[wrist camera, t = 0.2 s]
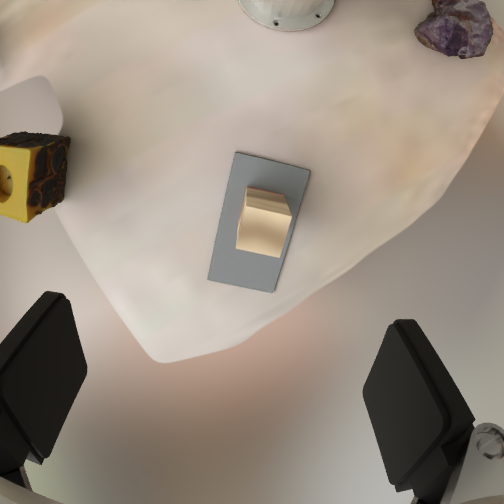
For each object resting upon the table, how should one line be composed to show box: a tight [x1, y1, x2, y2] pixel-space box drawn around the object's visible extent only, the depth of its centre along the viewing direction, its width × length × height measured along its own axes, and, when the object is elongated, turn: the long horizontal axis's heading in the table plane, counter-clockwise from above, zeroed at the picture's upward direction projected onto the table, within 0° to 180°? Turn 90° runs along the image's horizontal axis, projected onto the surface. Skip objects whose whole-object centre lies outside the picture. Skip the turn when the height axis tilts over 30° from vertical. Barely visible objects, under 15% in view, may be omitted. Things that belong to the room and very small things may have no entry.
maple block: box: [236, 186, 292, 258], centre depth 39 cm, size 5×5×9 cm
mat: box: [207, 152, 310, 293], centre depth 45 cm, size 19×10×1 cm, turn 167°
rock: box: [414, 0, 493, 59], centre depth 28 cm, size 12×9×10 cm
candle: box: [0, 131, 70, 223], centre depth 36 cm, size 10×10×10 cm
